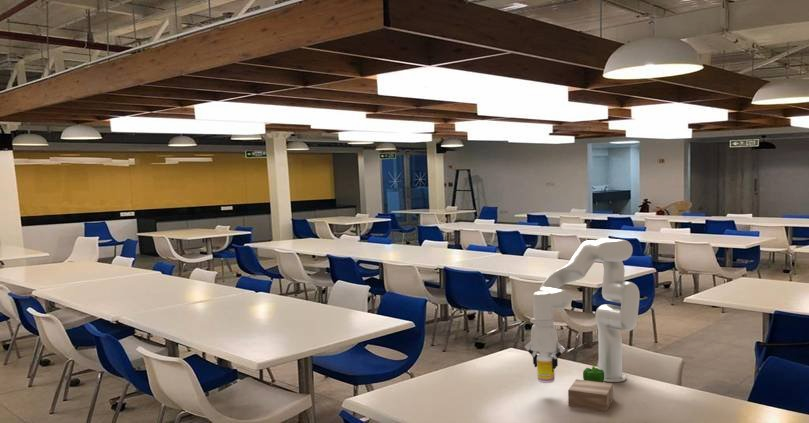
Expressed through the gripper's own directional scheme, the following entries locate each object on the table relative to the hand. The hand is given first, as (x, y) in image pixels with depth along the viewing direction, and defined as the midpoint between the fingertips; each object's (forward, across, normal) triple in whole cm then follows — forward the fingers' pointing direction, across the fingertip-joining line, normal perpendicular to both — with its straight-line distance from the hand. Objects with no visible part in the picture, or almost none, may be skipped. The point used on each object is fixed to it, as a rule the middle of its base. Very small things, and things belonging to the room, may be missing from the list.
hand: (545, 366), depth 245 cm
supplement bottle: (+6, 0, 0) cm, 6 cm away
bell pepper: (+13, +15, +15) cm, 25 cm away
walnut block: (+12, +17, -1) cm, 21 cm away
